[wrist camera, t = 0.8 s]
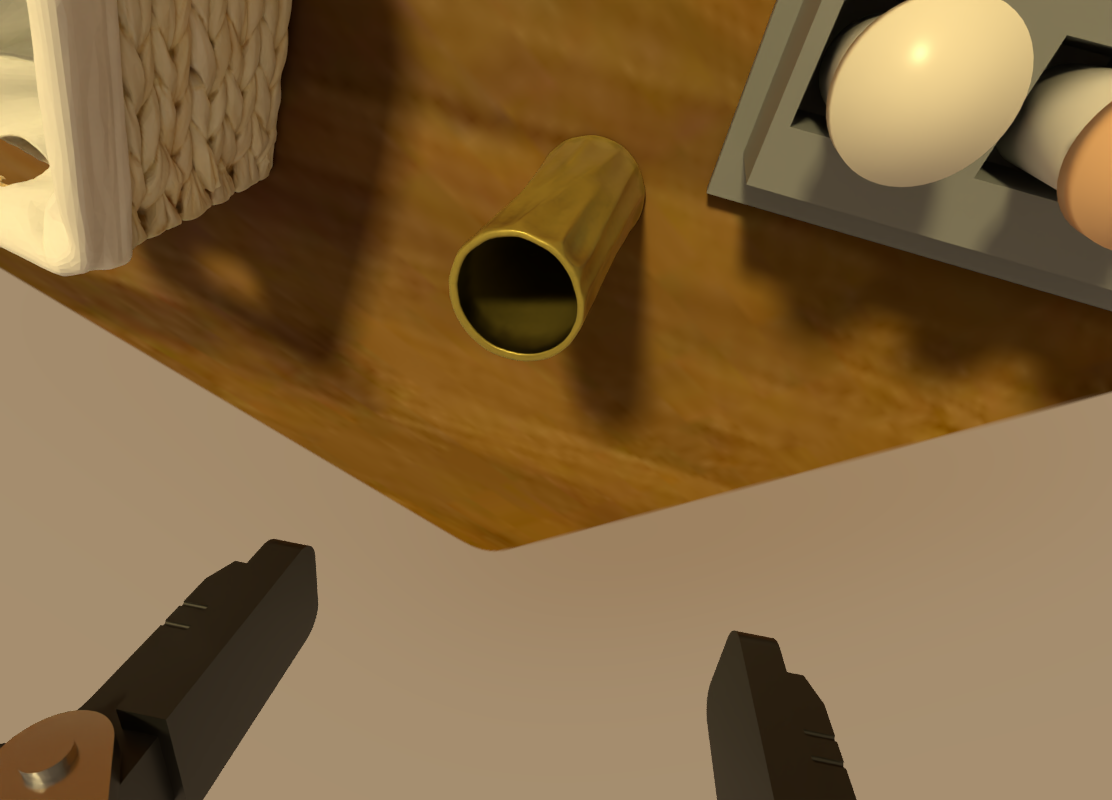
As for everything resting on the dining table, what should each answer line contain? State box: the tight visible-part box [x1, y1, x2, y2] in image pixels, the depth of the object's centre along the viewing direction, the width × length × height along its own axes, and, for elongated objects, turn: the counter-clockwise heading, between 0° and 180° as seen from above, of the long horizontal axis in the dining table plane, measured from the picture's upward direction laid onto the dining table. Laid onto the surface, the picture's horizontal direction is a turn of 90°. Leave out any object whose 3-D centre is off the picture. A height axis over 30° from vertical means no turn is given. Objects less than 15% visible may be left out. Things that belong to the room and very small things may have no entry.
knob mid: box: [996, 63, 1112, 250], centre depth 18 cm, size 5×5×8 cm
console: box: [707, 0, 1112, 311], centre depth 22 cm, size 14×22×7 cm, turn 78°
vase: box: [449, 135, 645, 361], centre depth 26 cm, size 6×6×14 cm
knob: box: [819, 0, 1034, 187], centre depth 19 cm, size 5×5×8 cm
